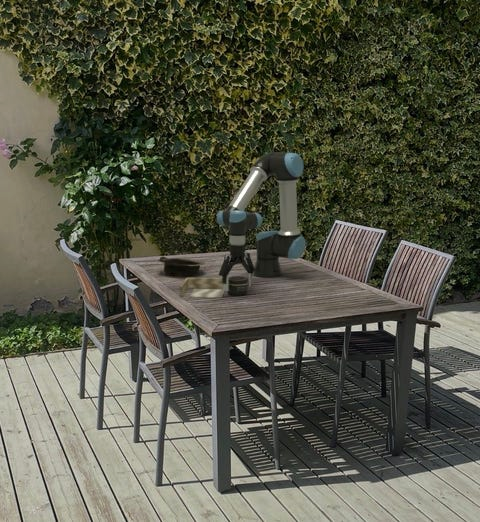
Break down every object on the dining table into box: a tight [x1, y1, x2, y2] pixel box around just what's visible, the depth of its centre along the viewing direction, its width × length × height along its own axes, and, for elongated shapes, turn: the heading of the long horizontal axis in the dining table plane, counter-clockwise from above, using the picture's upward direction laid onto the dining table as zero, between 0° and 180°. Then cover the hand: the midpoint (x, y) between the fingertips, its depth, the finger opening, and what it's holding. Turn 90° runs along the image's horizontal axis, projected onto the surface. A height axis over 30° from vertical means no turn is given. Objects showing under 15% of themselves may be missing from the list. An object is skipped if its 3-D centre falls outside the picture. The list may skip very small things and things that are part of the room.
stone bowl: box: [158, 256, 206, 278], centre depth 394 cm, size 25×25×9 cm
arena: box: [179, 277, 226, 299], centre depth 353 cm, size 23×20×5 cm
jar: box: [226, 275, 249, 297], centre depth 351 cm, size 10×10×8 cm
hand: (237, 288), depth 351 cm, fingers open, 13 cm apart
